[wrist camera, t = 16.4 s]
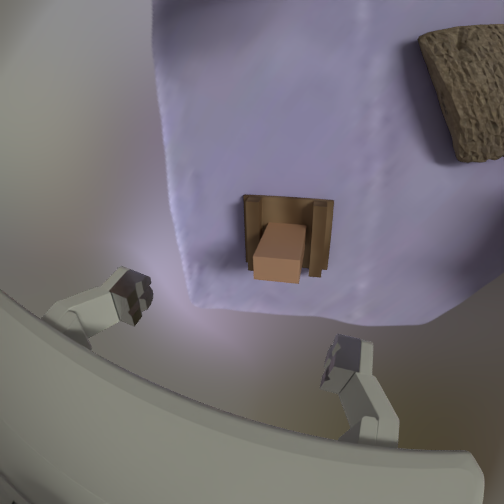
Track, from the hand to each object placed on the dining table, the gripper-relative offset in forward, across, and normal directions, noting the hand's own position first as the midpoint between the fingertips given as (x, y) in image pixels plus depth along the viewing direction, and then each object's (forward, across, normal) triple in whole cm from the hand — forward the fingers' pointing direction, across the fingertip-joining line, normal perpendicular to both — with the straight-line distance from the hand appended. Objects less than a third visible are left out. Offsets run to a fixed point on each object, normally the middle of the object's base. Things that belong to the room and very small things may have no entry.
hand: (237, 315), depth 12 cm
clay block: (+32, +2, +16) cm, 36 cm away
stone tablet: (+39, -28, -18) cm, 52 cm away
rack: (+33, +2, +17) cm, 37 cm away
